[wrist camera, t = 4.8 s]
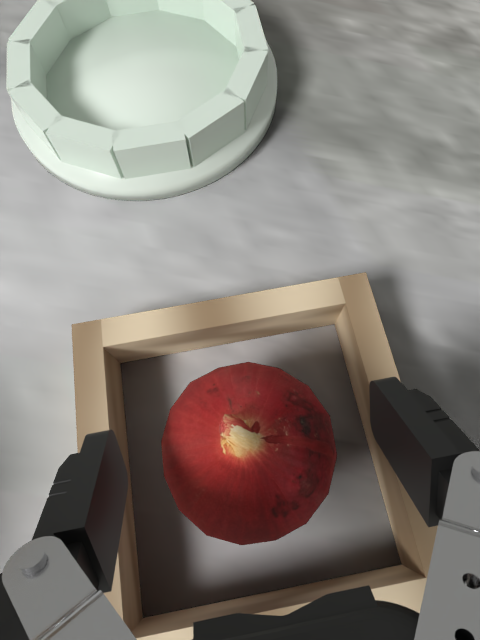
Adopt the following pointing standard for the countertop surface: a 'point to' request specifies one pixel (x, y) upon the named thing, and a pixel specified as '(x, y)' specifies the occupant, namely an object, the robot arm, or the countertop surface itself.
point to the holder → (227, 327)
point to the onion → (248, 453)
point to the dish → (141, 92)
